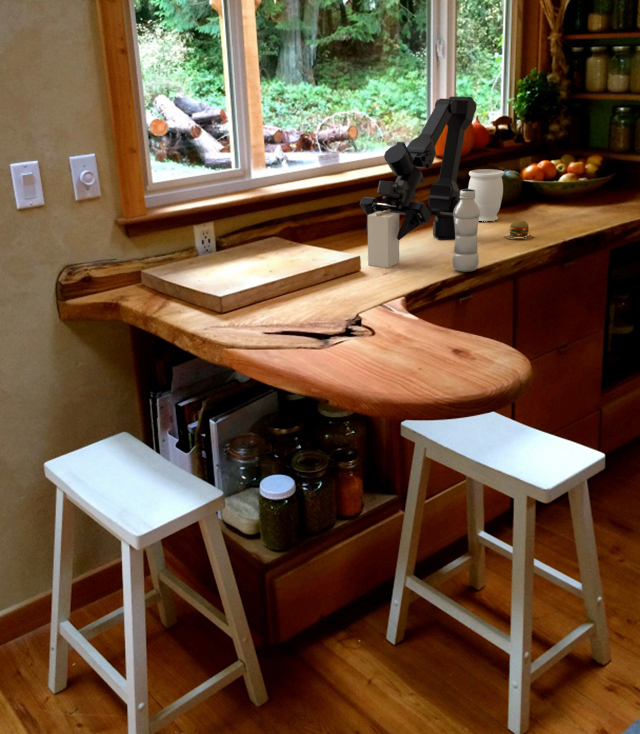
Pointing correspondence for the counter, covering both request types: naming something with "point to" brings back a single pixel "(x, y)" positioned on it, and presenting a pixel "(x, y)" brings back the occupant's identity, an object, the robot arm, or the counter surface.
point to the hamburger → (519, 228)
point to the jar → (487, 192)
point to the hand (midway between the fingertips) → (382, 237)
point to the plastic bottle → (466, 232)
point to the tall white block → (383, 239)
